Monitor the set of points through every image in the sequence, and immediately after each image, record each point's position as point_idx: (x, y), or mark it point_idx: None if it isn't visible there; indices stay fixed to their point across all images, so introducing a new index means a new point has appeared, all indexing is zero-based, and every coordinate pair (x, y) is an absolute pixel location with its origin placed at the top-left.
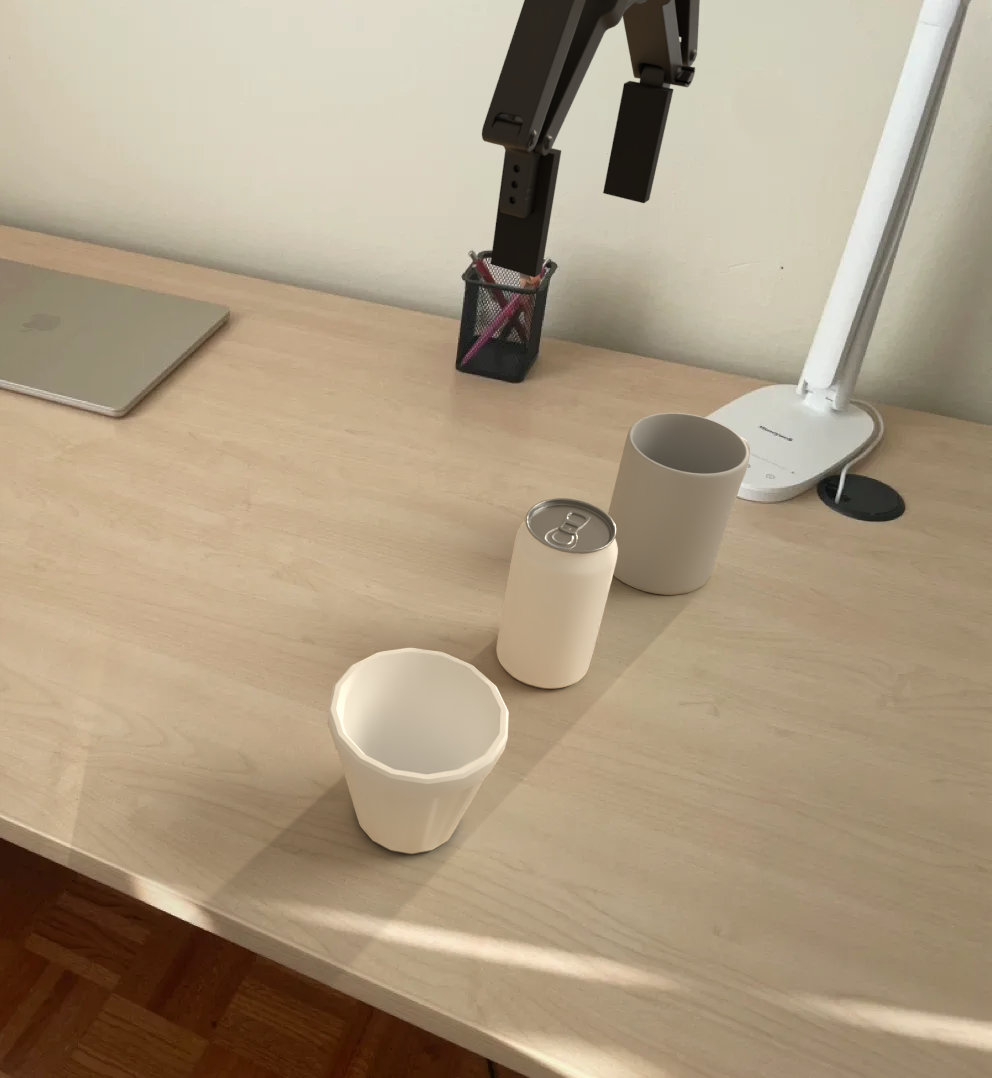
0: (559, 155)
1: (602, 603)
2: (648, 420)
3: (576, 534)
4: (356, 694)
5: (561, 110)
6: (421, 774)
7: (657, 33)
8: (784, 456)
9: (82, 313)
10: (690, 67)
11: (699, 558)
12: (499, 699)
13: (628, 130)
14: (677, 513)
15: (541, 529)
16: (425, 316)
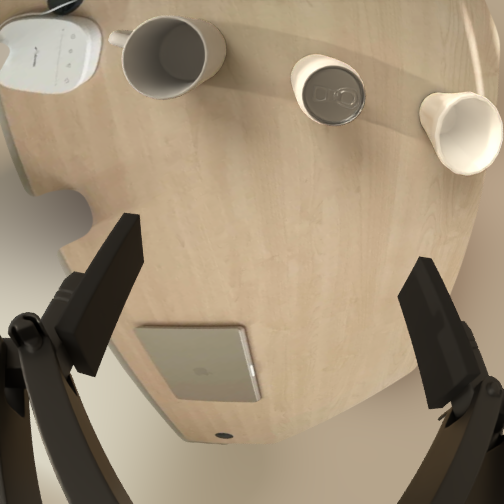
0: (468, 368)
1: (333, 58)
2: (147, 93)
3: (339, 89)
4: (456, 163)
5: (487, 423)
6: (501, 126)
7: (97, 458)
8: (51, 41)
9: (184, 365)
10: (12, 338)
11: (206, 23)
12: (457, 101)
13: (111, 311)
14: (213, 41)
15: (343, 112)
16: (66, 258)
